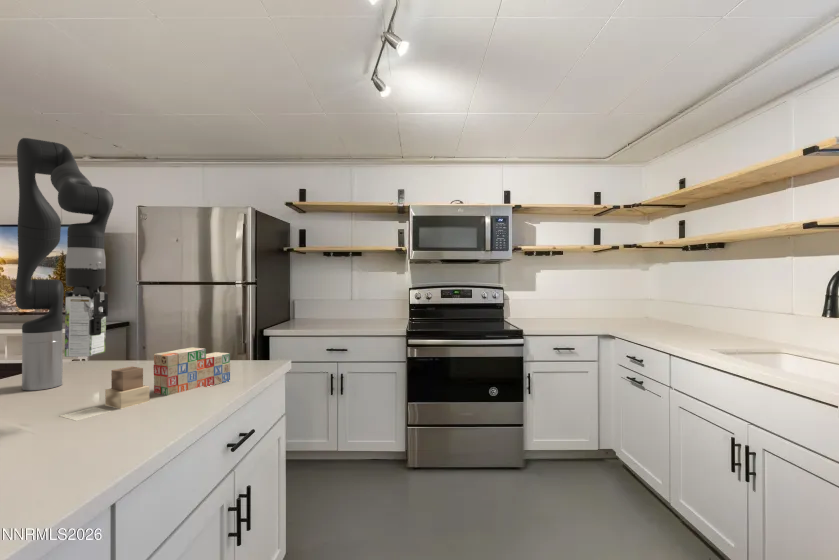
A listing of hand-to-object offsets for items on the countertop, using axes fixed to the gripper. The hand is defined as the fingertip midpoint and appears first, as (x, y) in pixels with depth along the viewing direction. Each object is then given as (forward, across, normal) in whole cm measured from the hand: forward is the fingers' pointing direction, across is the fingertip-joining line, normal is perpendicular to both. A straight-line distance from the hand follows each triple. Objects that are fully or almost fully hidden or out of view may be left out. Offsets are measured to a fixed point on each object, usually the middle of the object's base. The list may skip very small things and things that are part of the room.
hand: (86, 333), depth 100 cm
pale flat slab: (+20, -3, +5) cm, 21 cm away
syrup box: (+5, 0, 0) cm, 5 cm away
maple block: (+20, 0, +10) cm, 22 cm away
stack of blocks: (+21, 0, +29) cm, 36 cm away
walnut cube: (+16, 0, +9) cm, 18 cm away
